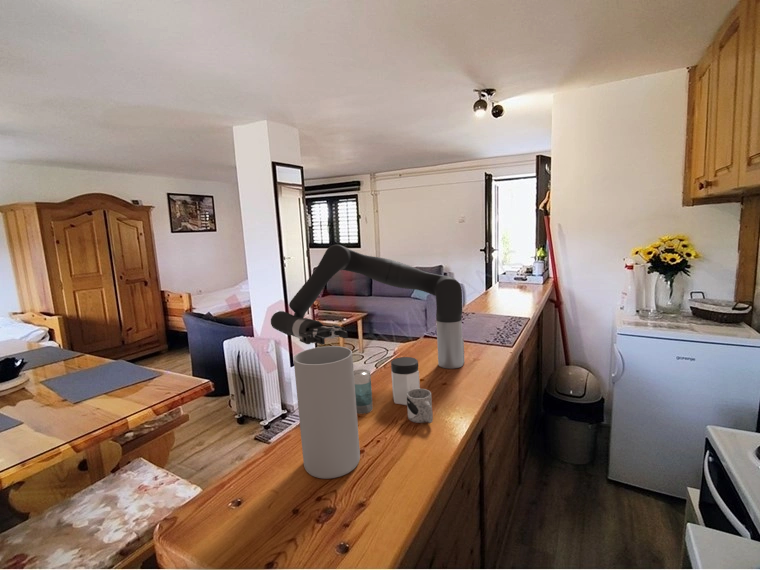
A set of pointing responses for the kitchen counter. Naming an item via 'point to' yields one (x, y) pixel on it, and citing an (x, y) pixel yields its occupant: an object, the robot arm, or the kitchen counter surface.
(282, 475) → the kitchen counter surface
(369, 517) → the kitchen counter surface
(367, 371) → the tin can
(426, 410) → the mug
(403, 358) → the jar
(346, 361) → the cylinder vase
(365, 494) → the kitchen counter surface
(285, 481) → the kitchen counter surface
